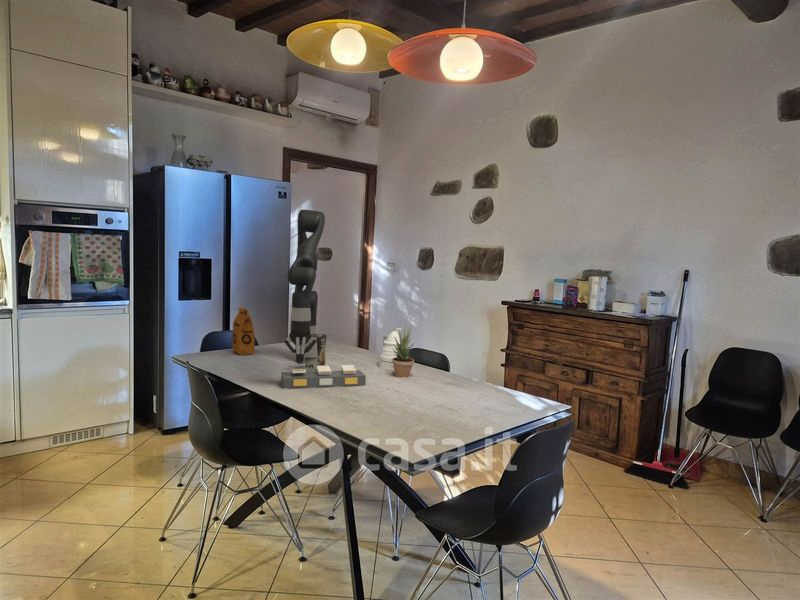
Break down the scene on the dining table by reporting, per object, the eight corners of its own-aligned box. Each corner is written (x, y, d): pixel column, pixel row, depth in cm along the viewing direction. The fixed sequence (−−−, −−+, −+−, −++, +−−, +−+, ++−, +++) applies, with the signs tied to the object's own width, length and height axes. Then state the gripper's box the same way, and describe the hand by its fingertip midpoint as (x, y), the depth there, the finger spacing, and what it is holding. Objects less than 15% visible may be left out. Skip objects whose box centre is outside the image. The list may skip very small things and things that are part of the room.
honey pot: (402, 363, 268) (404, 326, 266) (410, 370, 255) (412, 330, 254) (376, 364, 264) (377, 326, 262) (382, 370, 252) (384, 330, 250)
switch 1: (290, 372, 222) (290, 368, 222) (303, 371, 224) (303, 368, 224) (293, 373, 216) (293, 369, 216) (306, 372, 218) (306, 369, 218)
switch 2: (316, 368, 225) (316, 365, 225) (328, 368, 227) (328, 365, 226) (318, 375, 220) (318, 371, 219) (331, 374, 221) (331, 371, 221)
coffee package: (236, 356, 268) (236, 310, 266) (230, 351, 279) (231, 306, 276) (256, 354, 273) (257, 309, 270) (250, 349, 283) (251, 306, 281)
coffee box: (318, 375, 238) (319, 337, 236) (304, 373, 239) (305, 336, 237) (325, 370, 246) (326, 334, 245) (311, 369, 248) (312, 333, 246)
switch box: (281, 382, 224) (281, 372, 223) (359, 379, 233) (359, 370, 233) (284, 389, 214) (284, 378, 213) (365, 386, 223) (366, 376, 223)
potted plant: (415, 378, 240) (418, 321, 237) (394, 378, 237) (396, 320, 235) (409, 372, 249) (412, 317, 247) (388, 373, 247) (391, 317, 244)
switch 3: (340, 368, 228) (340, 364, 228) (352, 367, 230) (353, 364, 230) (343, 374, 223) (344, 371, 222) (356, 373, 224) (356, 370, 224)
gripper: (316, 317, 221) (315, 360, 223) (282, 317, 217) (281, 361, 219) (319, 320, 214) (318, 365, 216) (284, 320, 210) (283, 365, 212)
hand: (299, 363), depth 217 cm, fingers closed
